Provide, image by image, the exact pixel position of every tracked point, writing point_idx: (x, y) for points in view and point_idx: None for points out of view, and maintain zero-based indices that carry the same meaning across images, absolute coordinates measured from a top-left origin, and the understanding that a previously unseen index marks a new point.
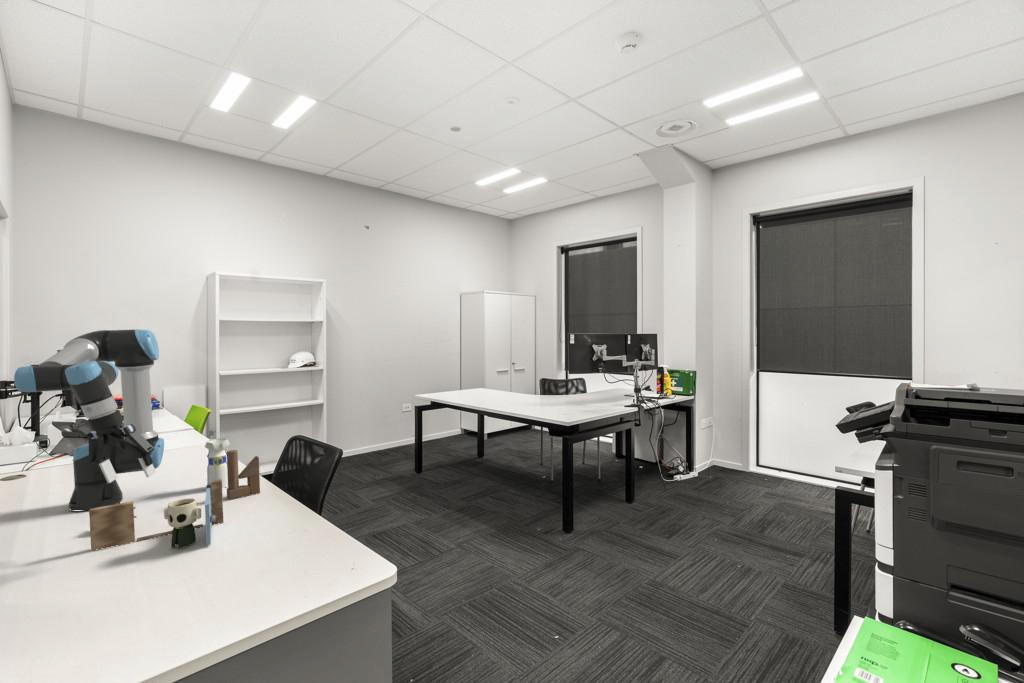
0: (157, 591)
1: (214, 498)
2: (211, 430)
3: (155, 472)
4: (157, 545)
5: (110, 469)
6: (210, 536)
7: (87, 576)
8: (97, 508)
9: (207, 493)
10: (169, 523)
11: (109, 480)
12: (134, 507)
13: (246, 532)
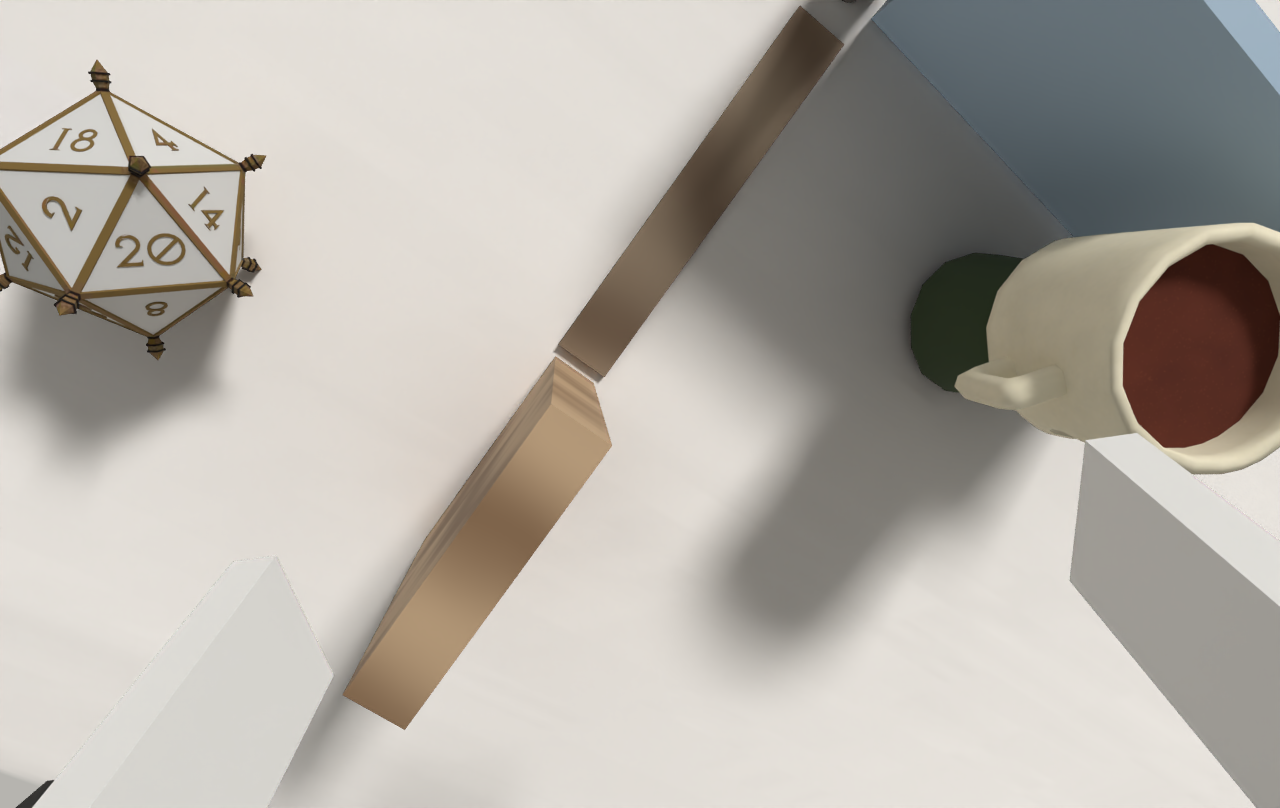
0: None
1: None
2: None
3: (1136, 449)
4: (797, 374)
5: (173, 786)
6: None
7: (788, 743)
8: (410, 664)
9: (1231, 10)
10: (1061, 436)
11: (317, 703)
12: (97, 73)
13: None
